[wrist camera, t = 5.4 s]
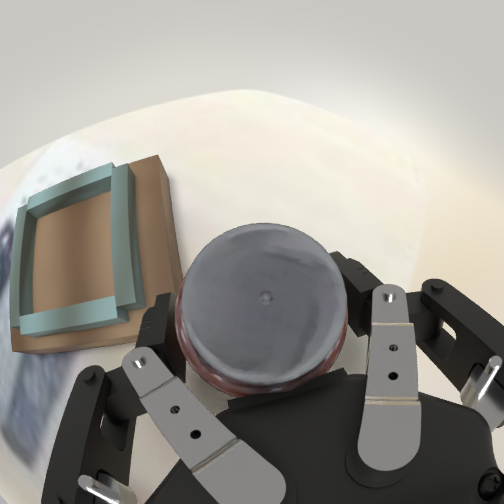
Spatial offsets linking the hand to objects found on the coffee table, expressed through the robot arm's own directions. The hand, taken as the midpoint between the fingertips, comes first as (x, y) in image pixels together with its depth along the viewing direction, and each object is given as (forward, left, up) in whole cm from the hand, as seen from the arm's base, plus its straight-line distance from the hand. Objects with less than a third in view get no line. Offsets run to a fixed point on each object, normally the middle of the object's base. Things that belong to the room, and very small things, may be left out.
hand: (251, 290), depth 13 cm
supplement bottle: (0, -2, -5) cm, 5 cm away
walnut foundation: (-11, +5, -5) cm, 13 cm away
